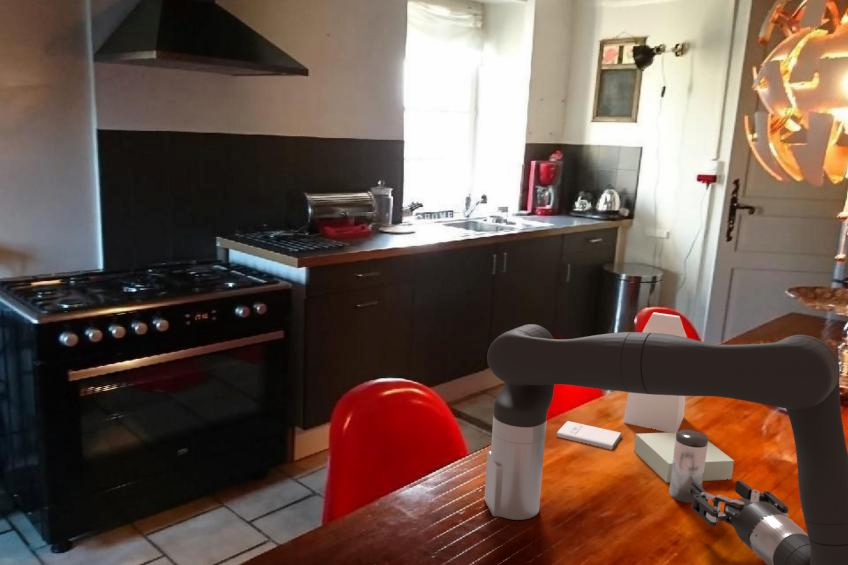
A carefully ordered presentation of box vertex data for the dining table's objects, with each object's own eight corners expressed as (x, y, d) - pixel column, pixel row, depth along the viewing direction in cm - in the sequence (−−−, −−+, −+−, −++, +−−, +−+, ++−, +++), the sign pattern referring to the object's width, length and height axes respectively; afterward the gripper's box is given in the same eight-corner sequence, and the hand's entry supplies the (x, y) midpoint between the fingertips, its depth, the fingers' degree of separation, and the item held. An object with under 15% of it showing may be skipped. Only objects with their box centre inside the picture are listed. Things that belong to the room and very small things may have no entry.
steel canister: (678, 503, 131) (686, 442, 129) (663, 488, 137) (670, 430, 134) (706, 501, 132) (714, 441, 130) (690, 487, 138) (697, 429, 135)
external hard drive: (611, 452, 153) (556, 438, 159) (621, 438, 160) (567, 426, 166) (612, 445, 152) (556, 431, 158) (621, 432, 160) (568, 419, 165)
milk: (683, 417, 173) (696, 313, 167) (676, 434, 163) (689, 324, 157) (633, 407, 178) (644, 306, 173) (623, 422, 168) (634, 316, 163)
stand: (666, 482, 139) (668, 463, 138) (633, 451, 153) (635, 433, 152) (731, 479, 142) (734, 460, 141) (693, 448, 155) (695, 431, 154)
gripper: (819, 513, 109) (754, 464, 125) (735, 518, 107) (679, 468, 123) (811, 557, 111) (748, 503, 127) (728, 562, 109) (674, 507, 124)
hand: (714, 486), depth 125 cm, fingers open, 8 cm apart
